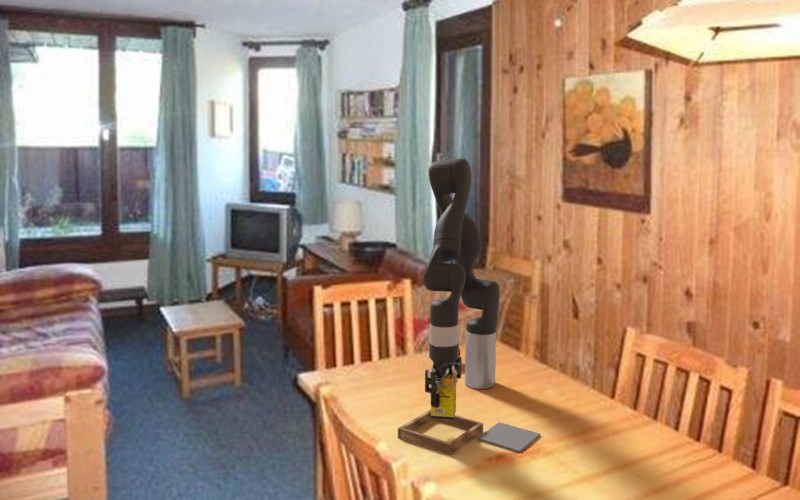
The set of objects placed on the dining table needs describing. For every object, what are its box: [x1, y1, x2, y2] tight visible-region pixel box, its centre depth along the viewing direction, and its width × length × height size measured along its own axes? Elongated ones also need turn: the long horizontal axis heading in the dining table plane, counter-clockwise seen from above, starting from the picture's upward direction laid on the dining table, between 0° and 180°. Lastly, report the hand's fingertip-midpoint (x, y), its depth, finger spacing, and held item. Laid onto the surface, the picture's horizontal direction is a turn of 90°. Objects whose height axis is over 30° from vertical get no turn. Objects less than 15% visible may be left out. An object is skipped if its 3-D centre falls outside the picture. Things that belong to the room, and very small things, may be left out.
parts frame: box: [397, 408, 484, 455], centre depth 178 cm, size 16×16×2 cm
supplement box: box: [430, 372, 457, 420], centre depth 176 cm, size 6×6×11 cm
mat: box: [476, 421, 541, 454], centre depth 176 cm, size 12×12×1 cm
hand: (443, 401), depth 177 cm, fingers closed on supplement box, 7 cm apart
